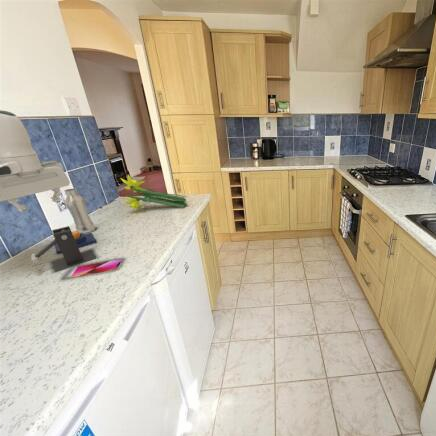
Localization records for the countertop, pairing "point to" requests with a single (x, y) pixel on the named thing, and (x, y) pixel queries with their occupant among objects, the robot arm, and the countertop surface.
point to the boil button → (76, 234)
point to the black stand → (69, 250)
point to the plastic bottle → (78, 211)
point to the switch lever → (43, 250)
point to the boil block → (80, 241)
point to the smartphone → (97, 268)
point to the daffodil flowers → (151, 195)
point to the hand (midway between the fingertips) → (40, 205)
